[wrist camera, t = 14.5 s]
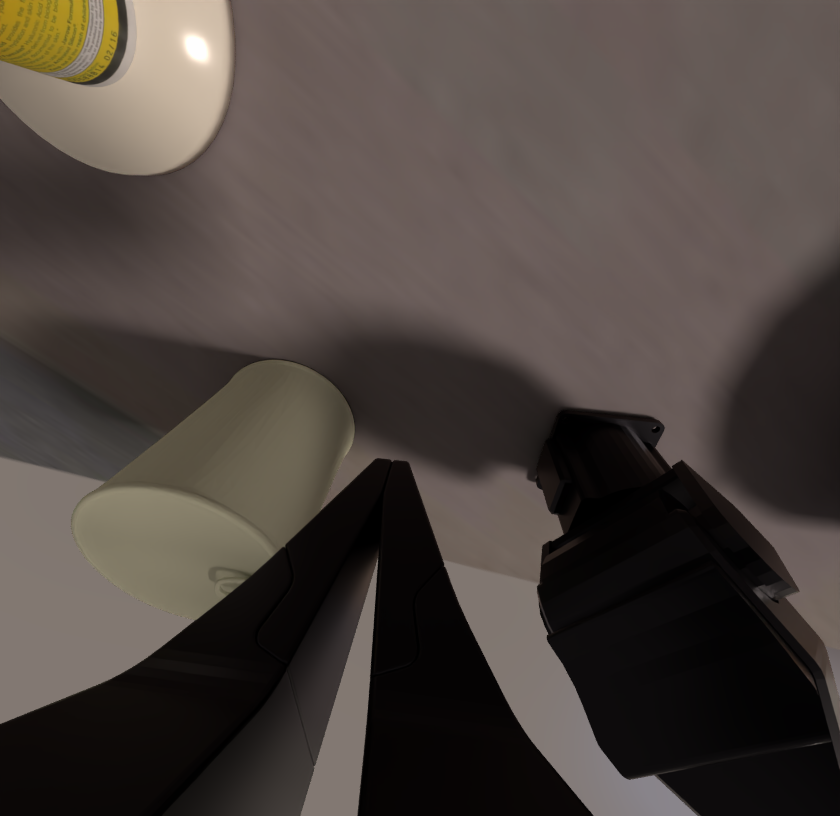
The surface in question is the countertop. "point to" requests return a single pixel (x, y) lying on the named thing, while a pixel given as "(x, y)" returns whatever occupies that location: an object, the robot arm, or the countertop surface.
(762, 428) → the countertop surface
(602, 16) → the countertop surface
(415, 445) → the countertop surface
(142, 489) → the can
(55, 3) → the supplement bottle
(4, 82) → the coaster
